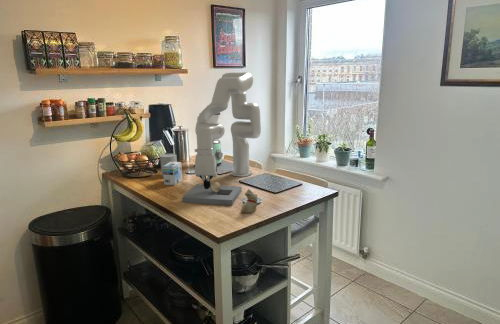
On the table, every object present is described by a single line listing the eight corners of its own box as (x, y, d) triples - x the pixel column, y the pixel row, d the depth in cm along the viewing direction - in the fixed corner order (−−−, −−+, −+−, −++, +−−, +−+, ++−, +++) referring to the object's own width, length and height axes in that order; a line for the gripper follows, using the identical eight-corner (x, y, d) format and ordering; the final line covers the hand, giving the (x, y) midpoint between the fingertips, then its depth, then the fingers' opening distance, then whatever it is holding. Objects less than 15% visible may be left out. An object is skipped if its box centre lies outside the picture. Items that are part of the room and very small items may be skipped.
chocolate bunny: (259, 212, 150) (259, 190, 147) (241, 213, 149) (240, 191, 146) (257, 207, 155) (256, 186, 153) (239, 209, 154) (239, 187, 151)
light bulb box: (175, 185, 188) (173, 166, 185) (163, 185, 189) (162, 165, 187) (182, 179, 198) (181, 161, 196) (171, 179, 199) (170, 161, 197)
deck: (197, 188, 182) (196, 184, 181) (241, 191, 177) (241, 186, 177) (182, 202, 163) (182, 197, 162) (232, 205, 158) (232, 200, 158)
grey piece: (181, 174, 209) (179, 154, 206) (169, 178, 201) (168, 157, 198) (169, 172, 214) (168, 152, 211) (158, 176, 206) (156, 155, 203)
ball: (209, 186, 172) (215, 178, 171) (218, 192, 172) (223, 184, 171) (207, 189, 167) (213, 181, 166) (216, 195, 167) (221, 187, 166)
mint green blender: (228, 164, 231) (226, 111, 223) (215, 168, 221) (213, 113, 212) (206, 160, 242) (204, 110, 233) (193, 164, 231) (190, 112, 222)
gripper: (187, 153, 163) (189, 190, 168) (218, 153, 160) (219, 191, 165) (193, 149, 170) (195, 185, 175) (222, 150, 167) (223, 186, 172)
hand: (207, 188), depth 170 cm, fingers closed
